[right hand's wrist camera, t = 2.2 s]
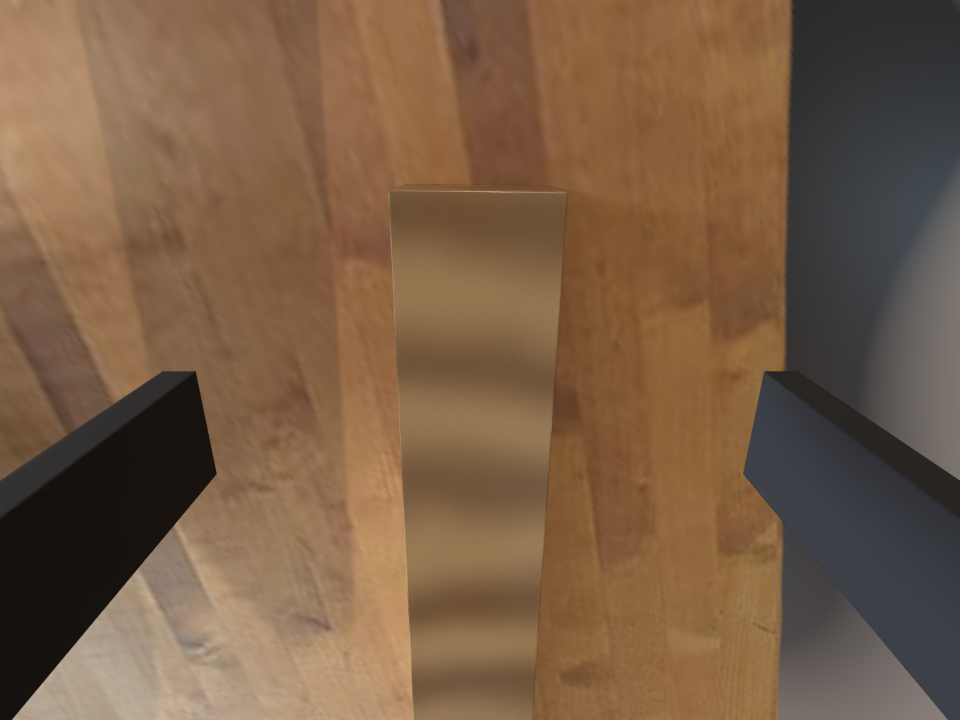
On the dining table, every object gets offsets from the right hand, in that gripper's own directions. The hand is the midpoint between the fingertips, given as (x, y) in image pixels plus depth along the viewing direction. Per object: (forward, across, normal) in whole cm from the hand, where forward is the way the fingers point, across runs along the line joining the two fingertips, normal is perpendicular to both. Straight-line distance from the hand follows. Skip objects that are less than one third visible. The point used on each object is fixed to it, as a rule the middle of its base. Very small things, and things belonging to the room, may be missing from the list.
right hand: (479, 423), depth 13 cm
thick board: (+26, 0, -24) cm, 35 cm away
